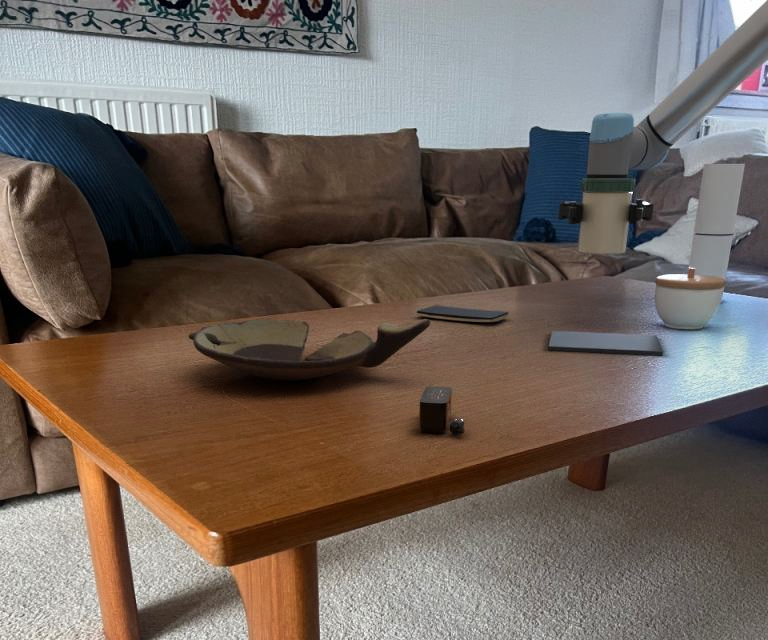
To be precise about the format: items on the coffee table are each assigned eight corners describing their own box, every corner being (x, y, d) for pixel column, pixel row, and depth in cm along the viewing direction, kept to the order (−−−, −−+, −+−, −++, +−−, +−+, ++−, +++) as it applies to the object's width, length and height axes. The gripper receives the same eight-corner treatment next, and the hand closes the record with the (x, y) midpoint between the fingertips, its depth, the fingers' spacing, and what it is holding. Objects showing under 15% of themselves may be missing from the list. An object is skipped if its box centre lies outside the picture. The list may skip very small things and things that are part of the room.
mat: (656, 339, 121) (656, 335, 121) (662, 355, 111) (663, 351, 111) (551, 334, 125) (551, 330, 125) (548, 350, 114) (548, 346, 114)
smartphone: (434, 305, 144) (510, 311, 137) (434, 311, 145) (509, 318, 137) (415, 310, 138) (492, 318, 131) (415, 317, 139) (492, 325, 132)
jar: (624, 250, 130) (632, 182, 126) (626, 254, 123) (634, 183, 119) (577, 249, 132) (584, 182, 127) (576, 253, 125) (583, 183, 121)
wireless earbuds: (417, 436, 78) (417, 404, 77) (425, 415, 84) (426, 386, 83) (463, 438, 77) (465, 406, 76) (468, 417, 84) (470, 387, 82)
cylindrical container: (679, 301, 155) (699, 163, 145) (689, 296, 161) (709, 163, 151) (716, 304, 152) (740, 163, 142) (725, 299, 157) (748, 163, 147)
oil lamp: (270, 347, 116) (267, 295, 113) (447, 374, 101) (448, 313, 98) (154, 379, 99) (147, 318, 96) (346, 416, 84) (344, 345, 81)
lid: (633, 190, 126) (634, 178, 126) (635, 191, 119) (637, 179, 118) (581, 190, 128) (582, 178, 128) (580, 191, 121) (581, 179, 120)
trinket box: (655, 318, 138) (662, 263, 134) (720, 323, 133) (729, 266, 130) (645, 329, 129) (652, 270, 125) (714, 334, 125) (724, 273, 121)
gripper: (660, 230, 140) (671, 240, 120) (545, 228, 145) (536, 238, 125) (666, 184, 137) (679, 188, 117) (548, 184, 142) (540, 187, 121)
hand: (605, 214), depth 121 cm, fingers closed on jar, 8 cm apart
